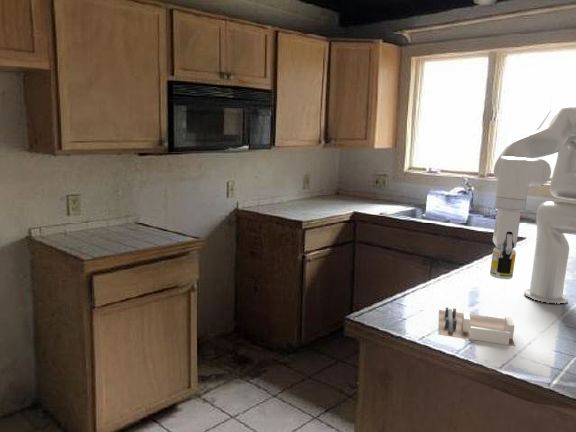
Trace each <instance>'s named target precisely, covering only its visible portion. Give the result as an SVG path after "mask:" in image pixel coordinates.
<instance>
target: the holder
mask: <svg viewBox="0 0 576 432" xmlns="http://www.w3.org/2000/svg"><path fill="white" fill-rule="evenodd" d="M462 313H463V318H462V330H463V332H469V326H470V314H471V313H470V311H466V310H465V311H464V310H463V311H462ZM504 319H505V323H504V331H500V330H493V329H487V328H480V327H473V326H471V328H470V337H469V338H470V339H469V340H471V339H473V341H478V340H479V341H480V342H485V341H486V343H491V342H493V343H492V344H498V343H499V345H504V344H506V346H510V345H509V338H510V339H513V340H514V333H515V332H514V331H515V322H514V321H513V318H512V317H510V316H509V317H508V316H505V318H504Z"/></svg>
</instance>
